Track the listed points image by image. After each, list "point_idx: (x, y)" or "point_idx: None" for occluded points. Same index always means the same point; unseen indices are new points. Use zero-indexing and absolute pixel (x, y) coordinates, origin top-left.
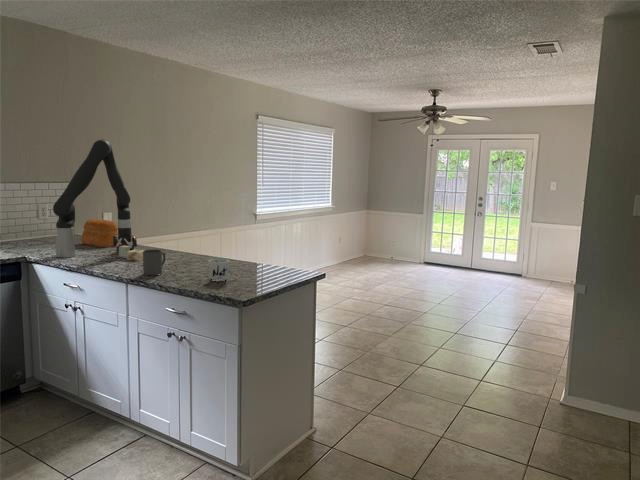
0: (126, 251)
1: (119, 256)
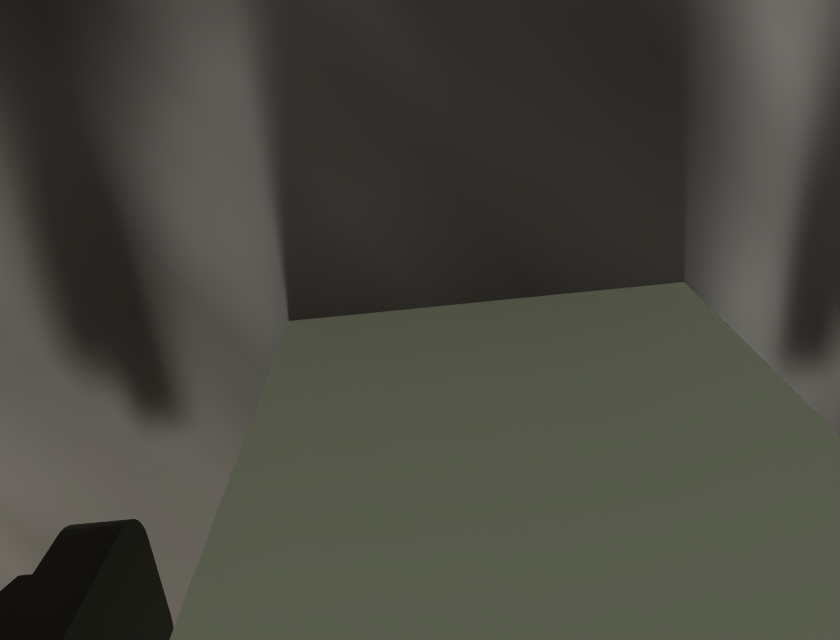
0: (235, 495)
1: (658, 285)
